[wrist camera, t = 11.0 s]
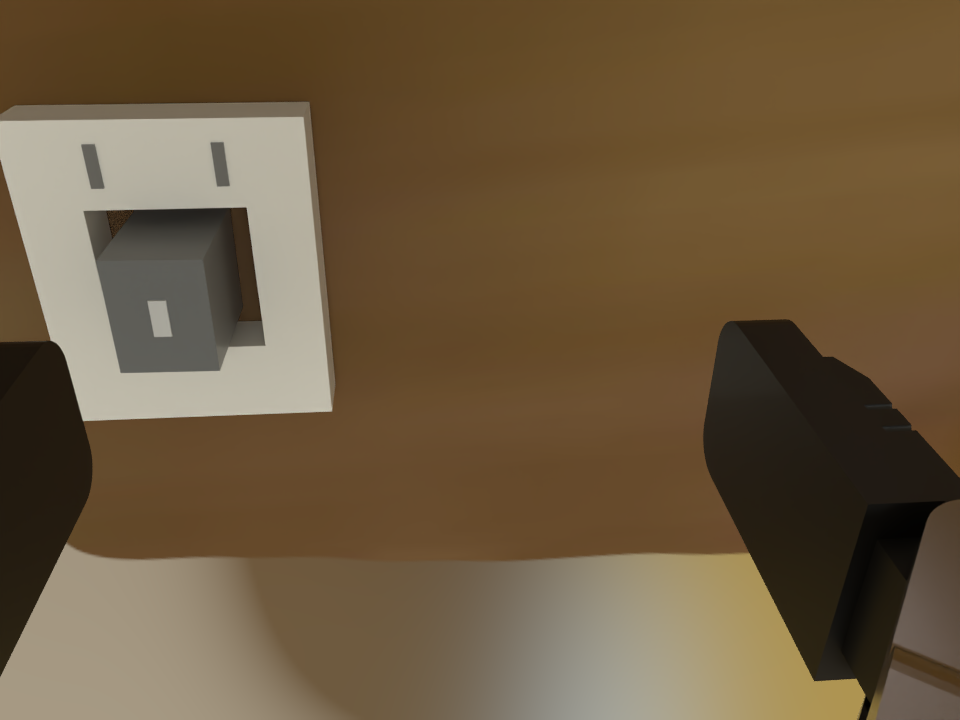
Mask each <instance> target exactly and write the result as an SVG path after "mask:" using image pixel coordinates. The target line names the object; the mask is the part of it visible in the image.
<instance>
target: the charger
mask: <svg viewBox="0 0 960 720" xmlns="http://www.w3.org/2000/svg"><path fill="white" fill-rule="evenodd" d="M96 264H97V269H98V273H99V278H100V282H101V287H102V291H103V296H104V300H105V305H106V309H107V314H108V318H109V323H110V327H111V332H112V336H113V341H114V345H115V350H116V354H117V359H118V363H119V368H120V372H121V373H150V372H194V371H220V369H221V367H222V364H223V361H224V358H225V355H226V353H227V350H228V347H229V344H230V341H231V339H232V336H233V333H234V330H235V327H236V325H237V322H238V319H239V316H240V313H241V311H242V308H243V303H242V295H241V288H240V280H239V273H238V265H237V258H236V250H235V243H234V235H233V228H232V220H231V212H230V208H193V209H146V210H135V211H134V212H133V213H132V214H131V216H130V217H129V218H128V220H127V221H126V222H125V224H124V225H123V226H122V227H121V229H120V230H119V231H118V233H117V234H116V235H115V237H114V238H113V239H112V240H111V242H110V243H109V244H108V246H107V247H106V248H105V250H104V251H103V252H102V253H101V255H100V256H99V257H98V259H97V260H96Z"/></svg>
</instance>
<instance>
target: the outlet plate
mask: <svg viewBox="0 0 960 720" xmlns="http://www.w3.org/2000/svg"><path fill="white" fill-rule="evenodd" d="M0 160H1V164H2V167H3V171H4V175H5V178H6V182H7V185H8V189H9V192H10V196H11V199H12V203H13V207H14V210H15V214H16V217H17V221H18V224H19V228H20V232H21V235H22V239H23V242H24V246H25V249H26V253H27V256H28V260H29V264H30V267H31V271H32V274H33V278H34V281H35V285H36V289H37V292H38V296H39V299H40V303H41V306H42V310H43V314H44V317H45V321H46V324H47V328H48V331H49V335H50V338H51V341H53V342H55V343H57V344H58V345H59V347H60V348H61V350H62V351H63V353H64V356H65V358H66V361H67V365H68V368H69V372H70V376H71V379H72V383H73V387H74V390H75V394H76V398H77V401H78V405H79V409H80V412H81V416H82V419H83V421H94V420H120V419H146V418H172V417H198V416H224V415H250V414H276V413H302V412H328V411H332V407H333V399H334V391H335V374H334V363H333V352H332V341H331V331H330V320H329V309H328V298H327V287H326V277H325V266H324V255H323V244H322V233H321V222H320V212H319V201H318V190H317V179H316V168H315V157H314V147H313V136H312V125H311V114H310V103H309V102H250V103H170V104H90V105H15V106H13V107H11V108H10V109H8V110H7V111H5V112H3V113H2V114H0ZM241 207H247V214H248V221H249V229H250V236H251V243H252V251H253V258H254V265H255V273H256V280H257V287H258V294H259V302H260V309H261V316H262V321H239V322H237V325H236V327H235V330H234V333H233V336H232V339H231V341H230V344H229V347H228V350H227V353H226V355H225V358H224V361H223V364H222V367H221V369H220V371H194V372H150V373H121V372H120V368H119V363H118V359H117V354H116V350H115V345H114V341H113V336H112V332H111V327H110V323H109V318H108V314H107V309H106V305H105V300H104V296H103V291H102V287H101V282H100V278H99V273H98V269H97V264H96V260H97V259H98V257H99V256H100V255H101V253H102V252H103V251H104V250H105V248H106V247H107V246H108V244H109V243H110V242H111V240H112V235H111V230H110V226H109V222H108V217H107V213H106V210H146V209H193V208H241Z"/></svg>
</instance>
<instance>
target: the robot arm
mask: <svg viewBox="0 0 960 720" xmlns="http://www.w3.org/2000/svg"><path fill="white" fill-rule="evenodd" d="M703 442H704V453H705V459H706V464H707V467H708V470H709V473H710V475H711V478H712V480H713V482H714V484H715V485H716V487H717V489H718V491H719V493H720V495H721V497H722V499H723V501H724V503H725V505H726V507H727V509H728V511H729V513H730V515H731V517H732V519H733V521H734V523H735V525H736V527H737V529H738V531H739V533H740V535H741V537H742V539H743V541H744V543H745V545H746V547H747V549H748V551H749V553H750V555H751V557H752V559H753V561H754V563H755V565H756V567H757V569H758V570H759V573H760V575H761V577H762V579H763V580H764V583H765V585H766V586H767V588H768V590H769V592H770V594H771V596H772V598H773V600H774V602H775V604H776V606H777V608H778V610H779V612H780V614H781V616H782V618H783V620H784V622H785V624H786V626H787V628H788V630H789V632H790V634H791V636H792V638H793V640H794V642H795V644H796V646H797V648H798V650H799V652H800V654H801V656H802V658H803V660H804V662H805V664H806V666H807V668H808V669H809V672H810V674H811V676H812V678H813V680H814V681H825V680H841V679H857V680H858V682H859V684H860V686H861V687H862V689H863V691H864V693H865V698H864V701H863V703H862V706H861V709H860V712H859V715H858V718H857V720H960V478H959V477H958V476H957V475H956V474H955V473H954V471H953V470H952V469H951V468H950V467H949V466H948V465H947V464H946V463H945V461H944V460H943V459H942V458H941V457H940V456H939V455H938V454H937V453H936V452H935V450H934V449H933V448H932V447H931V446H930V445H929V444H928V443H927V442H926V441H925V439H924V438H923V437H922V436H921V435H920V434H919V433H918V432H917V431H916V430H915V431H912V430H911V424H910V423H909V422H908V421H907V420H906V418H905V417H904V416H903V415H902V414H901V413H900V412H899V411H898V410H897V409H892V403H891V402H890V401H889V400H888V399H887V398H886V396H885V395H884V394H883V393H882V392H881V391H880V390H879V389H878V388H877V387H876V385H875V384H874V383H873V382H872V381H871V380H870V379H869V378H868V377H866V376H864V375H863V374H861V373H859V372H858V371H856V370H854V369H853V368H851V367H849V366H848V365H846V364H844V363H842V362H841V361H839V360H837V359H836V358H834V357H822V355H821V354H820V353H819V352H818V351H817V349H816V348H815V347H814V346H813V345H812V344H811V342H810V341H809V340H808V339H807V338H806V337H805V335H804V334H803V333H802V332H801V331H800V330H799V328H798V327H797V326H796V325H795V324H794V323H793V322H792V321H790V320H786V319H784V320H752V321H729V322H727V323H726V324H725V325H724V327H723V328H722V331H721V333H720V336H719V341H718V346H717V352H716V358H715V364H714V370H713V376H712V382H711V388H710V393H709V399H708V405H707V411H706V417H705V423H704V434H703ZM91 482H92V455H91V449H90V445H89V441H88V438H87V434H86V430H85V427H84V423H83V419H82V416H81V412H80V409H79V405H78V401H77V398H76V394H75V390H74V387H73V383H72V379H71V376H70V372H69V368H68V365H67V361H66V358H65V356H64V353H63V351H62V350H61V348H60V347H59V345H58V344H57V343H55V342H53V341H27V342H0V676H1V674H2V672H3V670H4V668H5V666H6V664H7V662H8V660H9V658H10V656H11V653H12V652H13V650H14V648H15V646H16V644H17V642H18V640H19V638H20V636H21V634H22V631H23V629H24V627H25V625H26V623H27V621H28V619H29V617H30V615H31V613H32V611H33V609H34V607H35V605H36V603H37V601H38V599H39V597H40V595H41V593H42V591H43V589H44V587H45V585H46V583H47V581H48V578H49V577H50V575H51V573H52V571H53V568H54V566H55V564H56V562H57V560H58V558H59V556H60V554H61V552H62V550H63V548H64V546H65V544H66V542H67V540H68V538H69V536H70V534H71V532H72V530H73V528H74V526H75V524H76V522H77V520H78V518H79V516H80V514H81V512H82V509H83V507H84V505H85V503H86V501H87V499H88V496H89V493H90V488H91Z"/></svg>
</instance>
